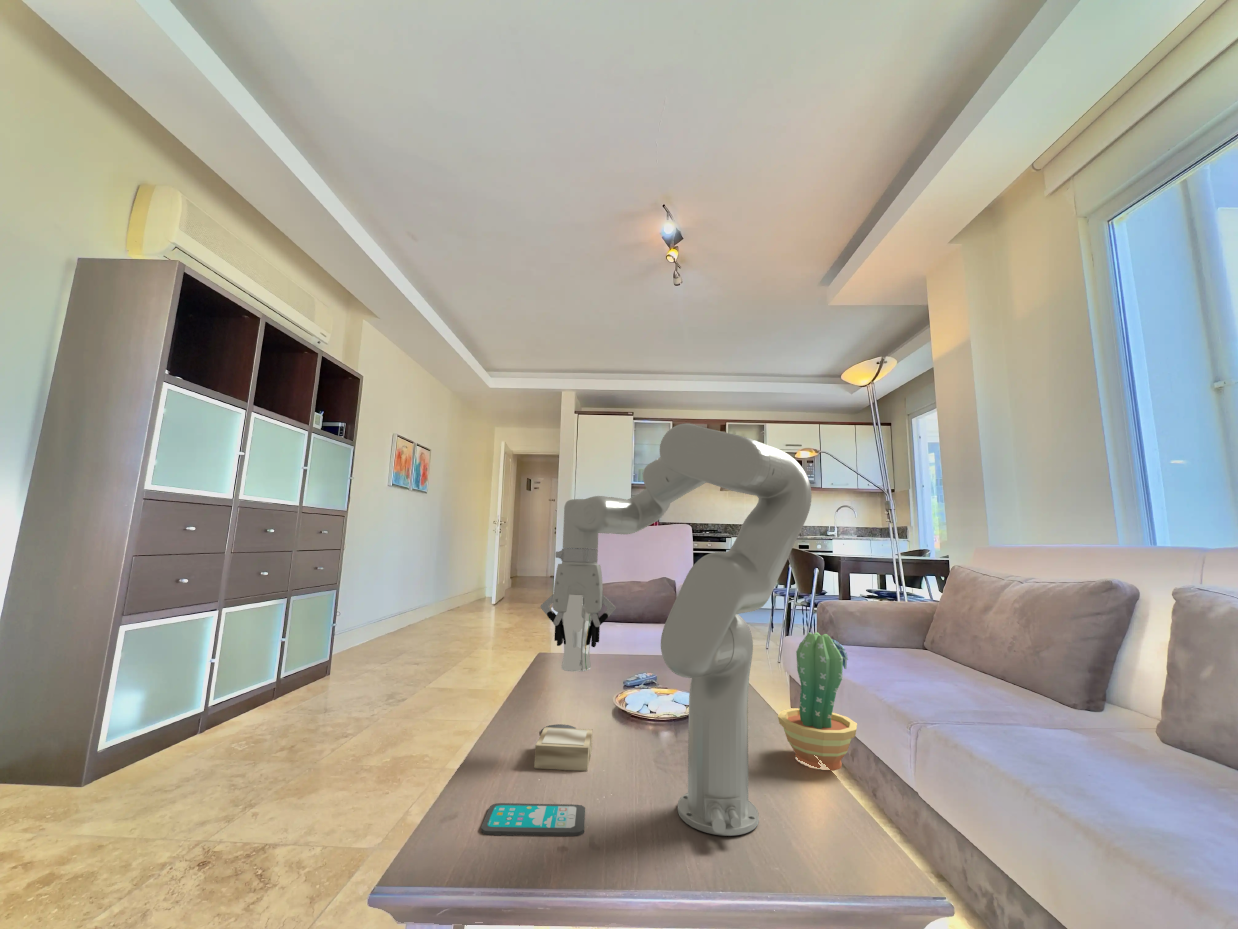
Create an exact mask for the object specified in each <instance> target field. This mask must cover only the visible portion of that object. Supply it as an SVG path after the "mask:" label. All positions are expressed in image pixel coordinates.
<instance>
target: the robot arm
mask: <svg viewBox="0 0 1238 929" xmlns="http://www.w3.org/2000/svg"><path fill="white" fill-rule="evenodd" d="M659 456H660V457H658V458H656V459H655V460H653V461H652V462H650V463H648V464H646V466H645V467H644V468H643V473H642V479H643V480H642V481H643V483H644V486H645V489H644V490H643V491H641V492H639V493H637V494H636V495H634V496H632V497H631V498H628V499H626V498H620V497H619V498H618V497H613V496H605V495H595V496H591V497H587V498H584V499H583V498H574V499H572V498H571V499H568V500H567V501H566V502H565V504H564V507H563V509H564V510H563V511H564V512H563V531H562V533H563V534H562V548H561V550H560V551H559V550H558V551H555V558H558V559H560V560H561V563H557V567H556V571H555V576H554V584H553V593H552V595H551V596H549V597H548V598H547V599H546V600H545V601H544V602H543V603H541V605H540V609H541V610H542V611H543V612H544V614H545V615H546V616H547V618H548V619H549V620H550V621H551V623H553V625H554V642H556V646H557V647H560V646H562V644H564V642H563V634H562V626H561V618H562V613H565V612H567V605H568V600H569V598H568V597H569V596H568V595H570V594H571V595H584V598H585V599H584V603H585V612H586V613H588V614H592V620H593V622H594V623H593V627H592V636H591V641H590V647H592V648H595V647H596V646H597V643H600V634H601V633H600V632H601V630H600V629H601V627H600V626H601V625H602V624H603V623H604V622H605V621H607V619H608V618H609V617H610V616H611V615H612V614H613V613H614V612H615V610H616V609H617V608H616V605H614V604H613V603H612V601H610V600H609V599H608V597H606V596H605V595H604V592H603V591H604V590H603V588H604V587H603V574H602V566H601V564H598V559H599V558H598V557H599V556H598V552H599V534H611V535H612V534H614V535H615V534H616V535H632V534H635V533H638V532H640V531H642V530H644V529H645V528H647V527H649V526H651V525H652V524H654V523H656V522H658V521H659V520H660V519H661V518H663V516H664V515H665V514H666V512H667V511H668V510H669V508H670V506H671V504H672V503H674V502H675V501H677V500H678V499H680V498H682V497H683V496H685V495H687V494H688V493H690V492H692V491H695V489H697V488H700V487H701V486H702V485H704V484H706V483H708V484H711V485H714V486H715V487H720V488H721V489H722V488H723V489H726V490H729V491H730V492H731V491H732V492H736V493H740V494H745V495H751V496H755V497H757V499H758V501H757V504H756V506H754V508H753V509H752V510H751V511H750V513H749V514H748V515H747V517H746V518H745V519H744V521H743V522H742V524H741V526H740V529H739V531H738V534H737V536H736V539H735V541H733V544H732V545H731V547H730V549H729V550H728V551H715V552H711V553H708V554H705V555H703V556H702V557H701V558H699V559H697V561H696V562H695V563H694V564H693V566H692V567H691V568H690V569H689V571H688V573H687V574H686V576H685V578H684V580H683V583H682V585H681V587H680V590H679V592H678V594H677V596H676V598H675V600H674V603H673V605H672V607H671V609H670V612H669V614H668V617H667V619H666V621H665V623H664V626H663V628H662V632H661V637H660V651H661V656H662V659H663V662H664V664H665V665H666V666H667V668H668V669H669V670H670V671H671V672H673V673H674V674H675V675H677V676H679V677H682V678H685V679H690V686H689V691H688V692H689V693H688V694H689V695H688V743H687V744H688V746H687V749H688V750H687V751H688V758H687V762H688V763H687V793H685V794H683V795H681V797H680V798H679V799H678V801H677V812H678V816H679V817H680V819H681V820H682V821H683V822H684V823H685V824H687V825H688V826H690V827H691V828H693V829H695V830H698V831H700V832H703V833H707V834H710V835H716V836H720V837H721V836H723V837H725V836H726V837H727V836H728V837H731V836H732V837H733V836H734V837H735V836H740V835H745V834H748V833H750V832H752V831H753V830H754V829H756V828H757V826H758V824H759V819H760V818H759V817H760V816H759V814H760V813H759V811H758V809H757V807H756V806H755V804H754V803H753V802H751V801H750V800H749V682H750V675H751V674H750V673H751V667H752V666H751V665H752V659H753V652H754V651H753V650H754V644H753V643H754V641H753V635H752V632H751V629H750V627H749V624H748V623H747V622H746V620H745V619H744V618H742V616H741V615H740V614H746V613H752V612H755V611H758V610H759V609H762V608H763V607H764V606H765V605H766V604H767V602H768V601H769V599H770V597H771V595H772V593H773V591H774V589H775V587H776V584H777V582H778V579H779V578H780V576H781V574H782V572H783V569H784V567H785V565H786V563H787V561H788V559H789V557H790V554H791V552H792V549H793V548H794V545H795V543H796V541H797V539H798V537H799V535H800V533H801V531H802V529H803V527H804V525H805V524H806V521H807V518H808V515H809V512H810V509H811V506H812V498H813V496H812V488H811V487H812V486H811V482H810V480H809V477H808V474H807V473H806V471H805V470H804V468H803V467H802V465H801V464H800V463H799V462H798V461H797V460H796V459H795V458H794V457H793V456H791V455H790V454H789V453H787V452H786V451H783V450H782V449H779V448H777V447H774V446H772V445H769V444H766V443H763V442H761V441H758V440H755V439H753V438H750V437H746V436H742V435H738V434H733V433H730V432H724V431H720V430H717V429H712V428H708V427H703V426H700V425H696V424H694V423H689V422H688V423H680V424H677V425H675V426H673V427H672V428H670V429H669V430H668V431H667V432H666V433H665V434H664V435H663V437H662V439H661V440H660V443H659ZM551 605H552V608H553V610H552V608H550V607H551ZM603 605H604V606H605V607H606V610H605V612H604V613H602V614H601V615H599V612H601V610H602V608H603ZM555 612H556V613H555Z"/></svg>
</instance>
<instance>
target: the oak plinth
mask: <svg viewBox="0 0 1238 929" xmlns="http://www.w3.org/2000/svg"><path fill="white" fill-rule="evenodd" d="M544 727H545V728H544ZM544 727H543V728H544V730H543V732H542V731H541V732H542V733H541V734H540V735H539V737H538V739H537V742H536V743H535V748H534V750H535V752H534V769H545V770H561V771H562V770H563V771H580V772H581V771H583V772H584V771H585V772H588V769H589V765H590V761H591V756H592V750H593V733H594V731H593V729H589V728H588V729H587V728H576V729H573V728H552V727H546V726H544Z"/></svg>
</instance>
